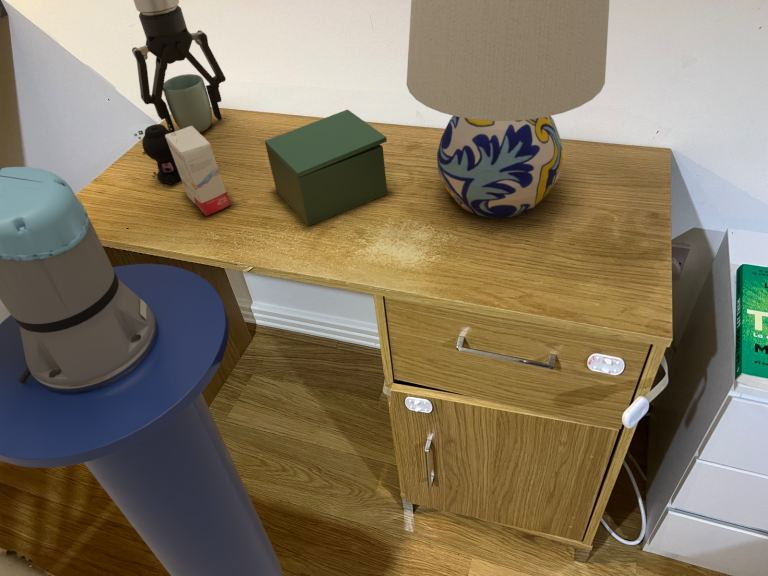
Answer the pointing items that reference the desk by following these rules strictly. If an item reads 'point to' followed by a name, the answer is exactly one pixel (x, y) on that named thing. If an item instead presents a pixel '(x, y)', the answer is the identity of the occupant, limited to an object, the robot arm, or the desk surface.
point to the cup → (188, 101)
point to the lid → (324, 142)
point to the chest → (331, 185)
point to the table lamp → (504, 90)
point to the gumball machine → (160, 152)
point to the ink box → (198, 170)
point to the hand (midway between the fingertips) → (195, 124)
